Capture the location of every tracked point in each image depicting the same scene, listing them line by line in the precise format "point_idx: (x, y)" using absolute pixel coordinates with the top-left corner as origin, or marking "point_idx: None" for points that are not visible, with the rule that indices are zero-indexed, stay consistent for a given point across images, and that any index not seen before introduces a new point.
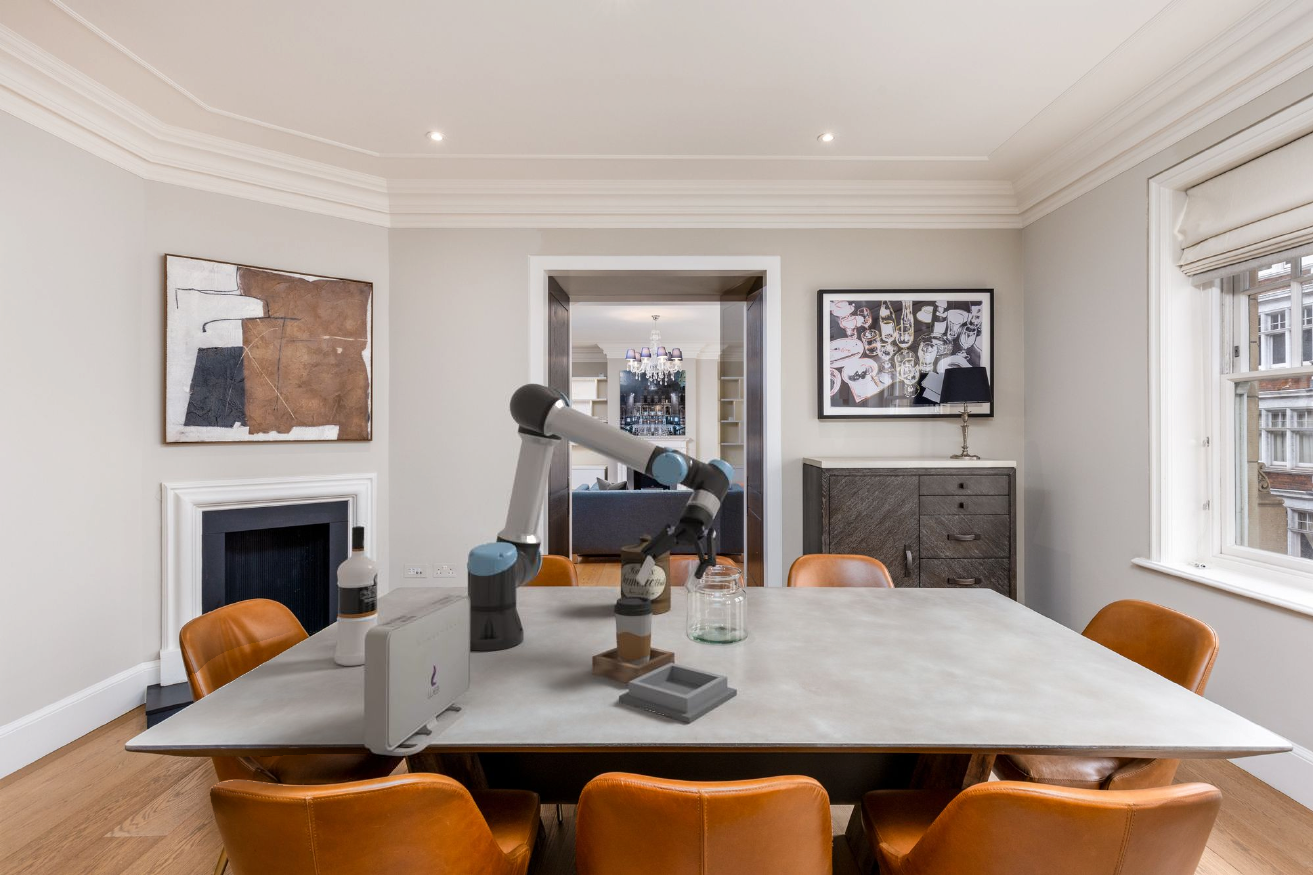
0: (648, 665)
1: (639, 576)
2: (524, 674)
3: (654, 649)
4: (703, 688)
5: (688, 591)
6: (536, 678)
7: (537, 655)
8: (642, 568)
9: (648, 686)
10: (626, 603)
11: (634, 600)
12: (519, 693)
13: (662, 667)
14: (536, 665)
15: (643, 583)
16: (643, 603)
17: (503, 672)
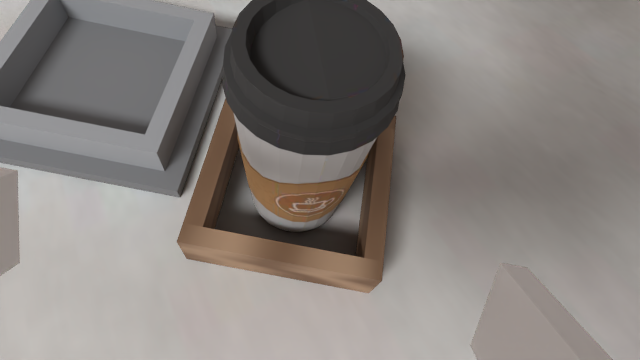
0: (218, 121)
1: (509, 276)
2: (506, 84)
3: (260, 245)
4: (15, 30)
5: (16, 246)
6: (467, 75)
7: (597, 194)
8: (570, 331)
9: (157, 5)
10: (329, 12)
11: (326, 63)
12: (433, 13)
13: (168, 112)
14: (534, 135)
15: (477, 343)
16: (244, 11)
17: (551, 78)
